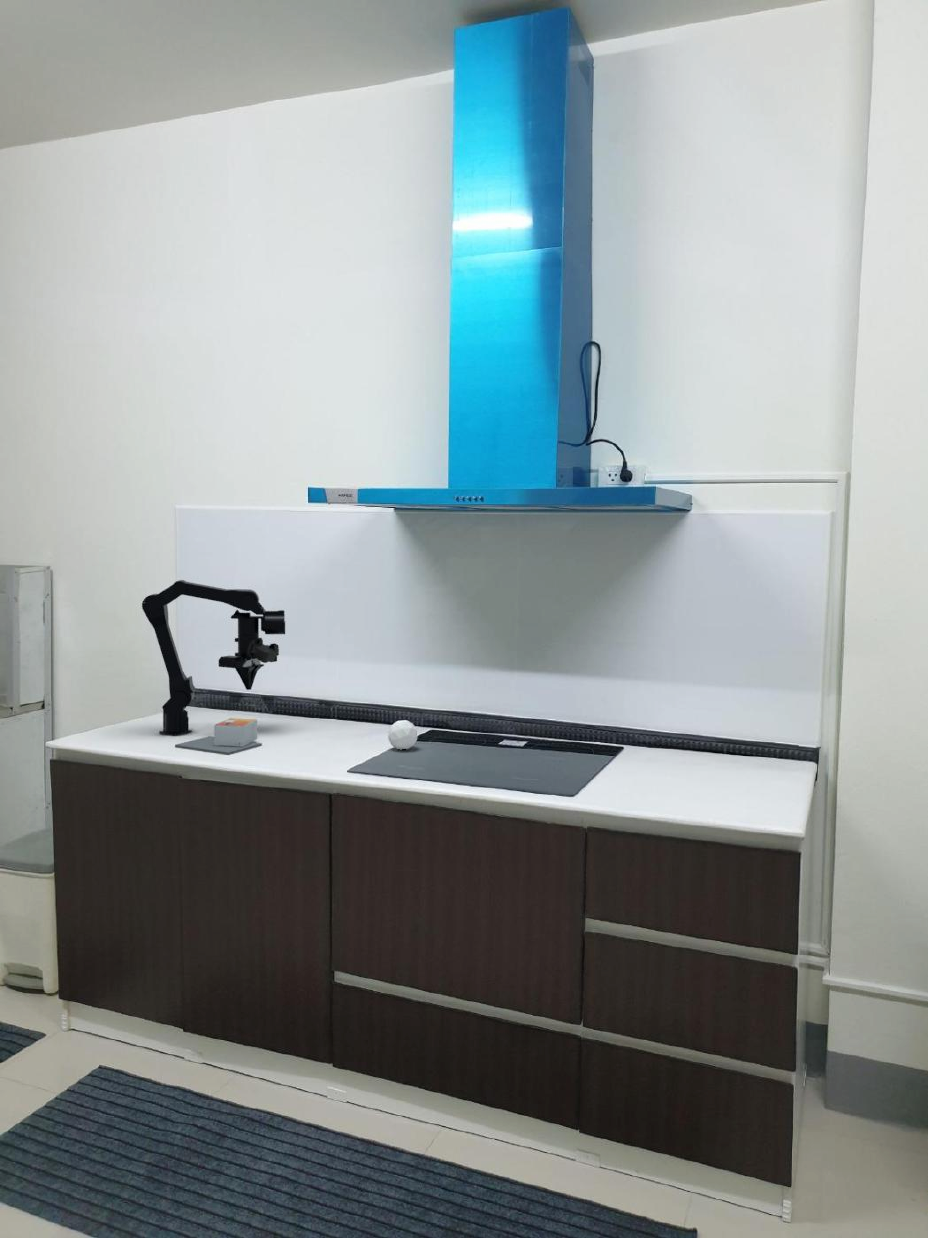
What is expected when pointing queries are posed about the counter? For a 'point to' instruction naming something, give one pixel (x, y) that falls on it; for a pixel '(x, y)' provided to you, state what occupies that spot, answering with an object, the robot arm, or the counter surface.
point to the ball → (402, 735)
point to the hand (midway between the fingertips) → (248, 689)
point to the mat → (208, 746)
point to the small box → (235, 732)
